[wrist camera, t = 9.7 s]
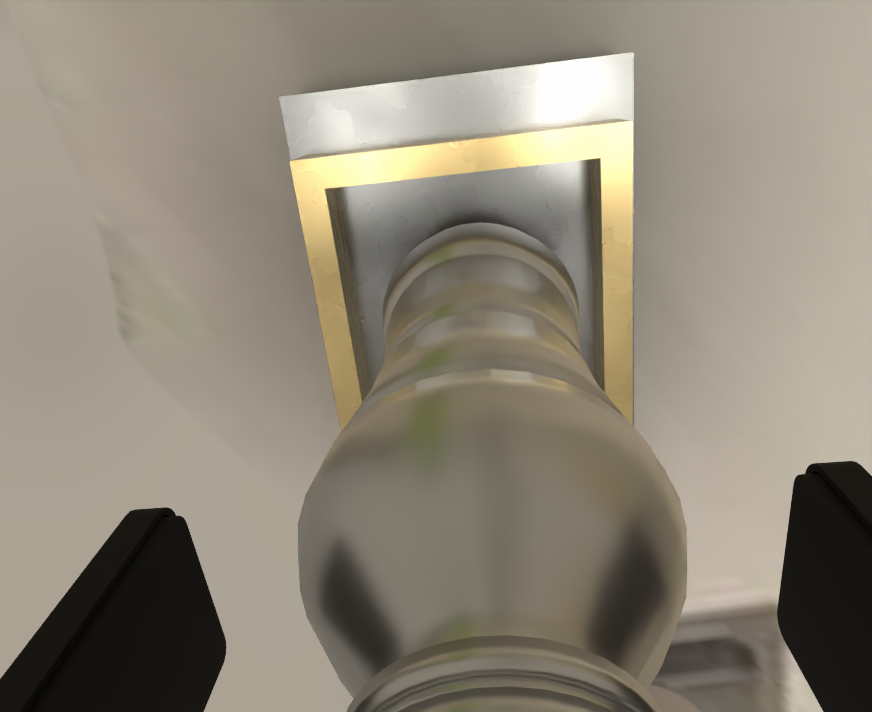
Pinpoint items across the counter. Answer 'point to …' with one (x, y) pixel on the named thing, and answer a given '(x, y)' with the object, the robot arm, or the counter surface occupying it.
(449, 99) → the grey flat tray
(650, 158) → the counter surface
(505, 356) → the plastic bottle
